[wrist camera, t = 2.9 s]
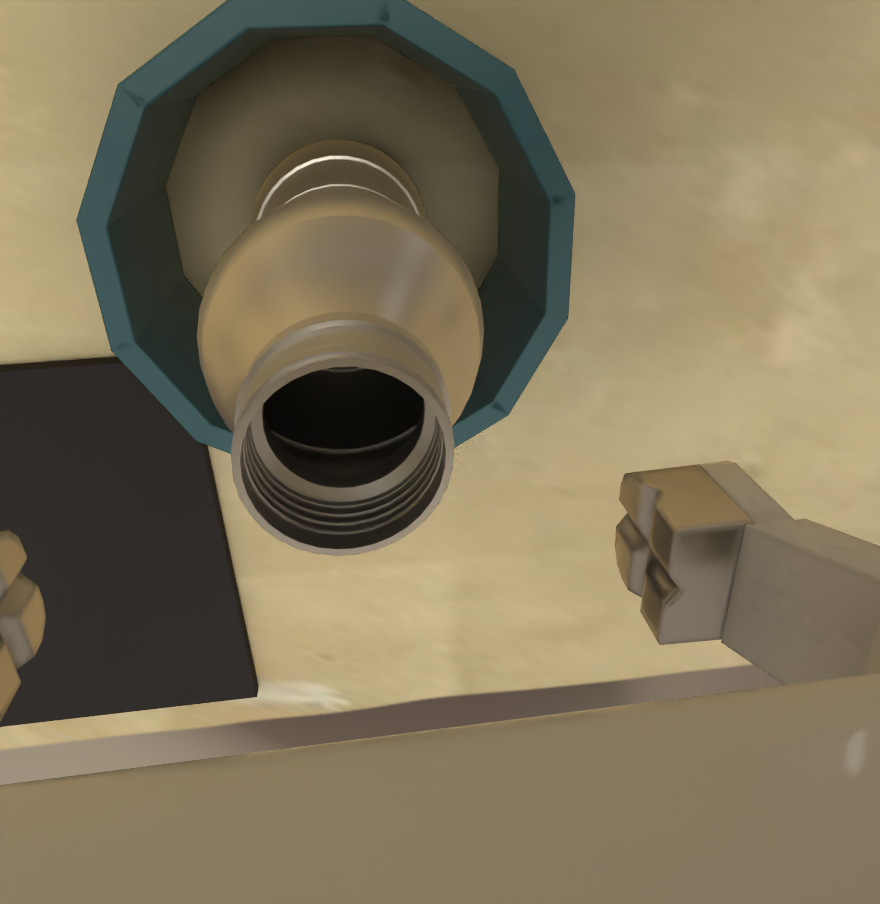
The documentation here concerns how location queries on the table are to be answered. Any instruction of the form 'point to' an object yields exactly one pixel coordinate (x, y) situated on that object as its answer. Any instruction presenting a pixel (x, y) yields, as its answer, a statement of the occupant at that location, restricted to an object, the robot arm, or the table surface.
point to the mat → (116, 547)
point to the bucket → (153, 237)
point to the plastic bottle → (340, 351)
